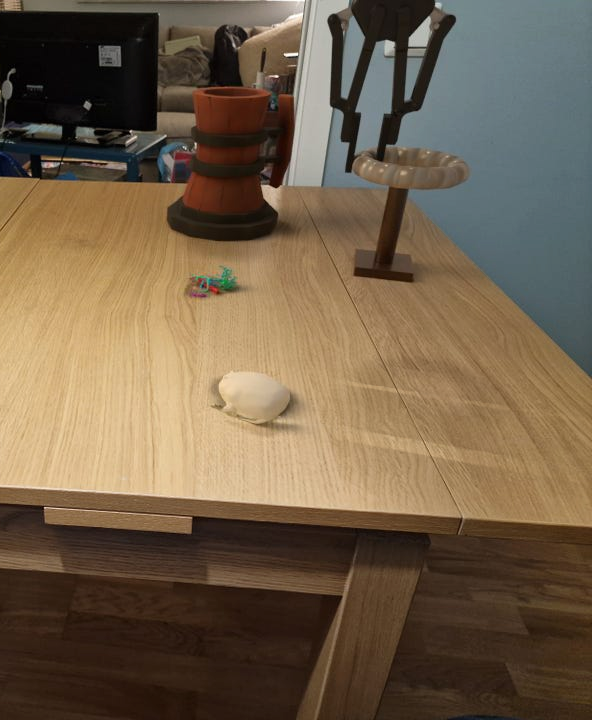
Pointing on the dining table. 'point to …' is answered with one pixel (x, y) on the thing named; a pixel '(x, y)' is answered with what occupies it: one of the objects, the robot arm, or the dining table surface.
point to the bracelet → (411, 168)
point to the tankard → (232, 165)
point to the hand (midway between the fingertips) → (362, 170)
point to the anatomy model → (210, 281)
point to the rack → (387, 244)
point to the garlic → (253, 396)
